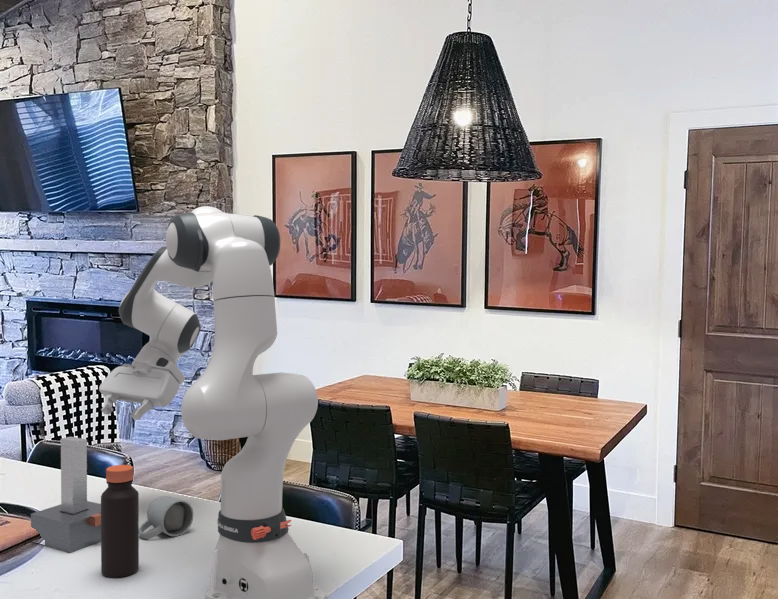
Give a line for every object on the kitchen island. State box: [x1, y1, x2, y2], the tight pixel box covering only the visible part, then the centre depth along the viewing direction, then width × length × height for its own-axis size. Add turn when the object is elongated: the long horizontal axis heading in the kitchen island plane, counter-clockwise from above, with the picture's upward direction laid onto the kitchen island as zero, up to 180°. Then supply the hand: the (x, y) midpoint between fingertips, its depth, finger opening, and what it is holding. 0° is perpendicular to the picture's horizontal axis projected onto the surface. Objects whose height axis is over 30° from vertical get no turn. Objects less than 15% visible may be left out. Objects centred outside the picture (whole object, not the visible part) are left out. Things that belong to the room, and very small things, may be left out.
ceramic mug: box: [139, 495, 194, 540], centre depth 169 cm, size 11×8×8 cm
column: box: [60, 436, 88, 515], centre depth 164 cm, size 5×4×21 cm
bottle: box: [100, 464, 140, 579], centre depth 148 cm, size 7×7×20 cm
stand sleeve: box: [30, 500, 101, 554], centre depth 164 cm, size 14×12×6 cm
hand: (119, 415), depth 175 cm, fingers open, 8 cm apart
